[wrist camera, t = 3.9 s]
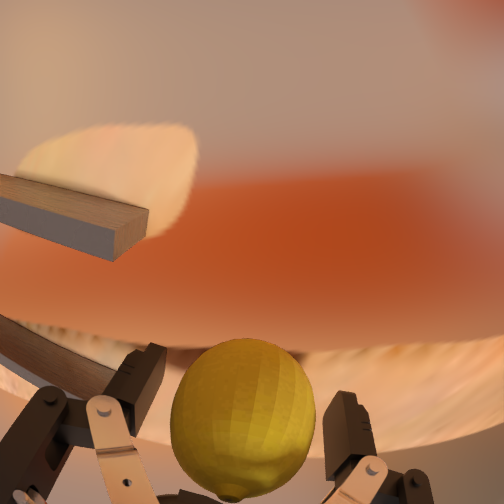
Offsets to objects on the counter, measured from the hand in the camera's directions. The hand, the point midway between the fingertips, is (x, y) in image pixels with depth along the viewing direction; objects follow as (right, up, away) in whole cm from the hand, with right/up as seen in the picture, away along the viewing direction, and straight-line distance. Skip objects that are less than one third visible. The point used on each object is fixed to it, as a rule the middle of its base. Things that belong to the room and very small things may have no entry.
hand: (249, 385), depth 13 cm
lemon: (0, +1, +2) cm, 2 cm away
